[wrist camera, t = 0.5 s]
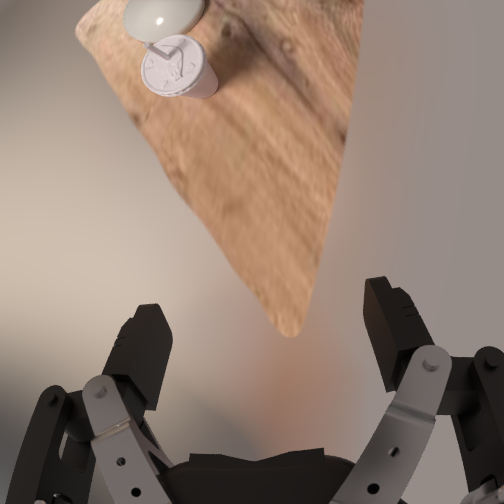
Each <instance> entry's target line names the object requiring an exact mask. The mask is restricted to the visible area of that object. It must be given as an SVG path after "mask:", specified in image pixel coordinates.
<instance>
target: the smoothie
mask: <svg viewBox="0 0 504 504" xmlns="http://www.w3.org/2000/svg"><path fill="white" fill-rule="evenodd" d="M143 47H144V48H146V49H147V50H148V51H147V53H146V55H145V57H144V59H143V62H142V67H141V75H142V79H143V81H144V83H145V85H146V86H147V87H148V88H149V89H150V90H151V91H153V92H155V93H156V94H159V95H162V96H168V97H173V96H177V95H181V96H187V97H193V98H198V99H205V98H208V97H210V96H212V95H213V94H214V93H215V92H216V90H217V88H218V78H217V76H216V75H215V73H214V71H213V69H212V68H211V66H210V64H209V62H208V61H207V56H206V52H205V50H204V48H203V46H202V45H201V44H200V43H199V42H198V41H196V40H195V39H194V38H192V37H190V36H188V35H184V34H174V35H169V36H166V37H164V38H162V39H160V40H159V41H157V42H156V43H155V44H154V45H152V44H150V43H149V42H146V43H144V45H143Z"/></svg>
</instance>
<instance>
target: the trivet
mask: <svg viewBox="0 0 504 504" xmlns="http://www.w3.org/2000/svg"><path fill="white" fill-rule="evenodd" d="M204 8H205V0H129V2H128V3H127V5H126V8H125V10H124V14H123V24H124V28H125V30H126V31H127V33H128V34H129V35H130V36H132V37H133V38H135V39H137V40H138V41H140V42H142V43H146V42H149V43H150V44H152V45H154V44H155V43H156V42H157V41H159V40H160V39H162V38H164V37H166V36H169V35H174V34H184V35H185V34H186V33H187V32H189V31H190V30H191V29H192V28H193V27H194V26H195V25H196V23H197V22H198V21H199V19H200V18H201V16H202V14H203V11H204Z"/></svg>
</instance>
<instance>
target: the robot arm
mask: <svg viewBox="0 0 504 504" xmlns="http://www.w3.org/2000/svg"><path fill="white" fill-rule="evenodd" d="M363 306H364V307H363V316H364V322H365V326H366V329H367V332H368V335H369V338H370V341H371V344H372V347H373V350H374V353H375V356H376V360H377V363H378V366H379V369H380V372H381V376H382V379H383V382H384V386H385V389H386V392H391V391H396V394H395V396H394V398H393V400H392V402H391V404H390V405H389V406H388V408H387V410H386V412H385V414H384V416H383V418H382V420H381V422H380V423H379V425H378V427H377V429H376V431H375V433H374V434H373V436H372V438H371V440H370V441H369V443H368V445H367V446H366V448H365V450H364V452H363V453H362V455H361V456H360V458H359V460H358V461H357V463H356V464H355V463H353V462H351V461H349V460H347V459H343V458H340V457H336V456H330V455H324V448H317V449H310V450H301V451H291V452H287V453H284V454H280V455H277V456H274V457H270V458H267V459H263V460H259V461H248V460H244V459H239V458H234V457H229V456H225V455H222V454H192V453H191V454H190V457H189V461H187V462H183V463H180V464H178V465H175V466H174V464H173V463H172V462H171V461H170V460H169V459H168V457H167V456H166V454H165V453H164V451H163V450H162V448H161V446H160V445H159V443H158V441H157V439H156V438H155V436H154V434H153V432H152V431H151V429H150V427H149V425H148V423H147V421H146V419H145V418H144V417H143V416H144V412H145V410H153V411H155V410H156V407H157V403H158V398H159V394H160V390H161V386H162V382H163V378H164V374H165V370H166V366H167V363H168V359H169V355H170V351H171V348H172V343H173V338H172V332H171V329H170V327H169V325H168V323H167V321H166V319H165V316H164V314H163V312H162V310H161V308H160V306H159V305H158V304H146V305H139V306H138V308H137V310H136V313H135V315H134V317H133V318H129V319H128V321H127V322H126V323H125V324H124V325H123V326H122V327H121V330H120V332H119V334H118V336H117V337H118V338H117V339H116V341H115V343H114V347H113V348H112V350H111V353H110V356H109V357H108V360H107V362H106V365H105V367H104V369H103V372H102V374H101V375H99V376H96V377H93V378H92V379H91V380H89V381H88V382H87V384H86V385H85V387H84V388H83V390H80V391H75V392H71V393H67V392H66V391H65V390H64V389H63V388H62V387H61V386H58V385H53V386H50V387H48V388H47V389H45V390H44V391H43V392H42V394H41V395H40V398H39V400H38V402H37V405H36V407H35V410H34V413H33V415H32V418H31V420H30V423H29V426H28V429H27V432H26V434H25V437H24V440H23V443H22V446H21V449H20V452H19V455H18V459H17V462H16V465H15V469H14V472H13V475H12V479H11V483H10V487H9V490H8V494H7V499H6V503H5V504H87V503H88V498H89V492H90V487H91V482H92V476H93V472H94V467H95V462H96V459H97V462H98V465H99V467H100V470H101V472H102V474H103V477H104V479H105V481H106V484H107V486H108V489H109V491H110V493H111V495H112V497H113V500H114V501H115V504H407V503H406V502H405V501H403V500H402V499H401V496H402V494H403V492H404V490H405V488H406V487H407V484H408V483H409V481H410V479H411V477H412V475H413V473H414V471H415V469H416V467H417V465H418V462H419V461H420V458H421V456H422V454H423V452H424V450H425V447H426V445H427V443H428V440H429V438H430V435H431V433H432V430H433V428H434V424H435V421H436V420H435V416H436V415H451V418H452V422H453V426H454V429H455V433H456V436H457V441H458V444H459V449H460V453H461V457H462V461H463V465H464V470H465V475H466V480H467V485H468V491H469V494H467V495H466V496H465V497H464V498H463V500H462V501H461V503H460V504H504V353H503V352H502V351H501V350H499V349H497V348H495V347H491V346H487V347H483V348H481V349H479V350H478V351H477V353H476V354H475V356H474V357H452V356H450V355H449V354H448V352H447V351H446V350H444V349H443V348H441V347H439V346H435V344H434V342H433V340H432V338H431V336H430V334H429V332H428V330H427V328H426V326H425V324H424V322H423V320H422V318H421V316H420V315H419V312H418V311H417V309H416V307H415V306H414V303H413V301H412V299H411V297H410V296H409V295H408V294H407V293H406V292H405V291H404V290H402V289H401V288H400V287H398V288H392V287H391V285H390V283H389V281H388V280H387V278H386V277H385V276H382V277H376V278H369V279H366V281H365V292H364V305H363ZM64 432H65V433H66V434H68V437H67V440H66V444H65V448H64V451H63V455H62V458H61V459H60V457H59V448H60V444H61V441H62V438H63V434H64Z"/></svg>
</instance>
